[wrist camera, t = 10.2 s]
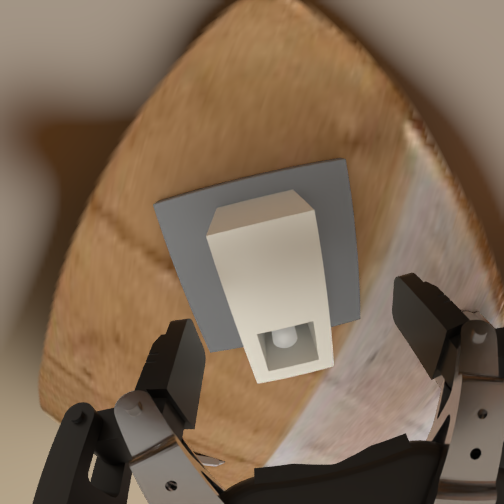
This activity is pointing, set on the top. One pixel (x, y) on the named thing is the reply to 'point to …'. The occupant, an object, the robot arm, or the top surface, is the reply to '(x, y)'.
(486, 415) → the robot arm
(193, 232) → the pin plate
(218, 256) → the socket block
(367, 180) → the top surface
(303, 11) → the top surface
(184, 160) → the top surface
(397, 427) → the top surface
